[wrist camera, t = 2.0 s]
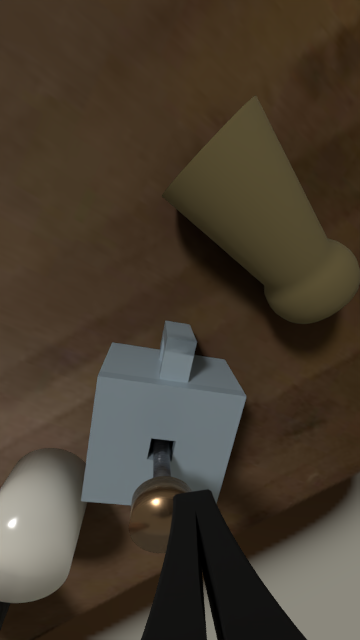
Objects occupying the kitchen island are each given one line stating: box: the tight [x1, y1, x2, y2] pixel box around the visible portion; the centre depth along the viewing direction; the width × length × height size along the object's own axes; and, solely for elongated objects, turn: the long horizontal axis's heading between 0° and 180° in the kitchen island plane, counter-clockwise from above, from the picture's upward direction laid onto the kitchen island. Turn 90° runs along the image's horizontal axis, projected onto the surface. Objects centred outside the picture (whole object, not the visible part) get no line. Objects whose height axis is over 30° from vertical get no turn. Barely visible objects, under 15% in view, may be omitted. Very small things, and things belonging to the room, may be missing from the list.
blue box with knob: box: [81, 321, 246, 505], centre depth 18 cm, size 8×10×5 cm
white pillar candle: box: [0, 448, 87, 603], centre depth 19 cm, size 6×6×6 cm
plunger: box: [129, 439, 192, 553], centre depth 14 cm, size 3×3×6 cm
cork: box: [162, 96, 360, 324], centre depth 16 cm, size 6×6×11 cm
